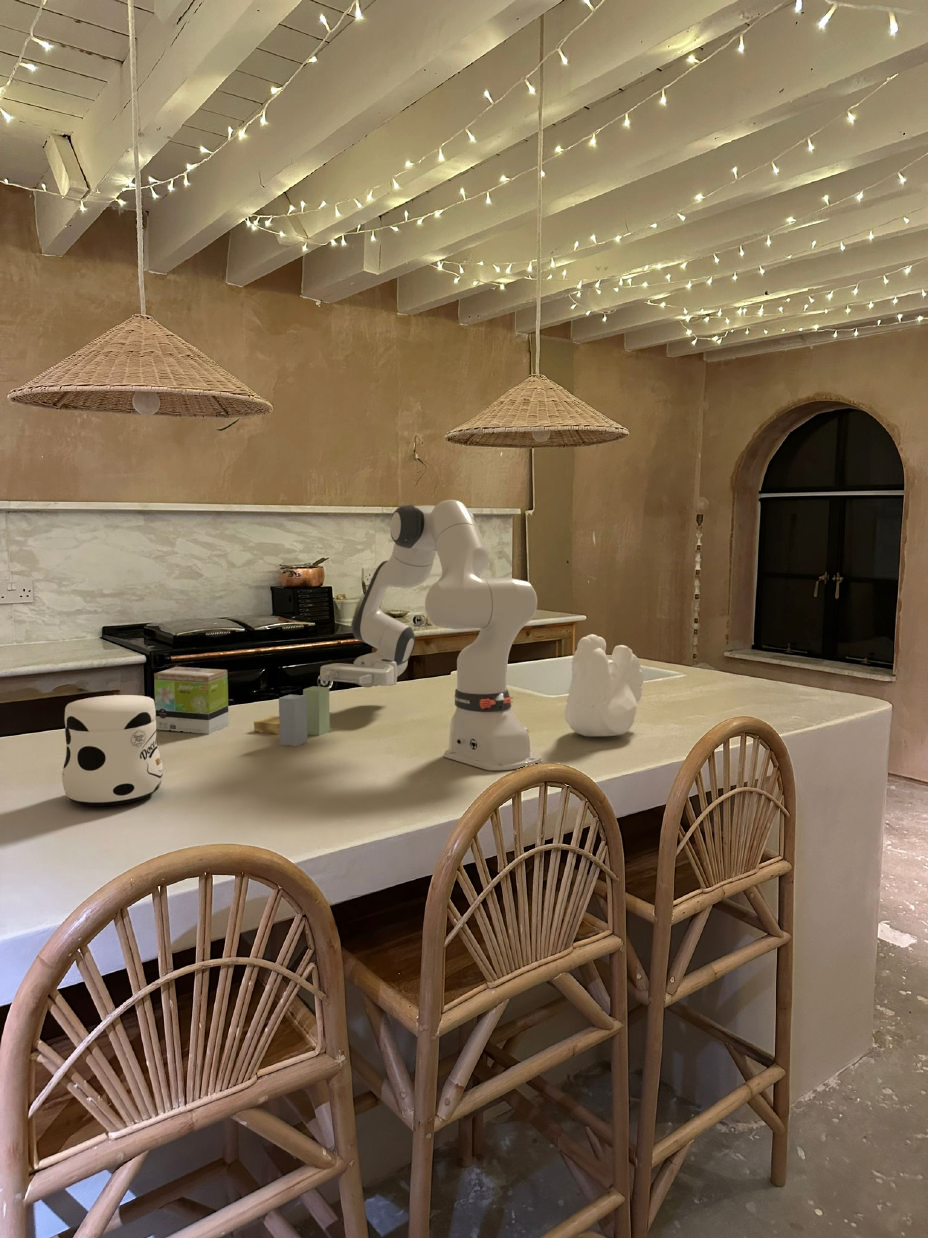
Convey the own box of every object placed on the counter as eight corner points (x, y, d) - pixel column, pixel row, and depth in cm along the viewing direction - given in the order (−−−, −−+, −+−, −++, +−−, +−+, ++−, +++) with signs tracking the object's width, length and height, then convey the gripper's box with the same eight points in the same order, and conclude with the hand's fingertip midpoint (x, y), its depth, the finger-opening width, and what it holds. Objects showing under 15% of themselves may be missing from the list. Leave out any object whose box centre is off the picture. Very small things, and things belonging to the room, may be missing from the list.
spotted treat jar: (181, 796, 161) (177, 702, 159) (89, 820, 148) (85, 717, 146) (135, 778, 172) (132, 690, 170) (47, 798, 159) (42, 703, 157)
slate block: (307, 742, 201) (306, 696, 200) (296, 746, 197) (295, 699, 196) (291, 740, 203) (290, 694, 201) (279, 744, 199) (278, 698, 197)
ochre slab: (294, 728, 214) (294, 718, 214) (277, 734, 208) (277, 724, 208) (271, 725, 217) (271, 715, 217) (254, 731, 211) (253, 721, 211)
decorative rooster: (590, 747, 196) (592, 640, 193) (549, 733, 210) (551, 632, 207) (671, 734, 208) (674, 633, 206) (628, 721, 222) (630, 626, 219)
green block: (329, 731, 211) (329, 687, 210) (319, 735, 207) (318, 690, 206) (314, 729, 213) (313, 686, 212) (303, 733, 209) (303, 689, 208)
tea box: (154, 731, 211) (152, 672, 210) (177, 722, 221) (175, 665, 219) (209, 735, 208) (207, 674, 206) (230, 725, 217) (228, 668, 216)
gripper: (336, 656, 236) (307, 664, 224) (401, 662, 228) (375, 670, 216) (336, 678, 237) (307, 687, 225) (401, 685, 229) (375, 695, 216)
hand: (341, 679), depth 220 cm, fingers open, 8 cm apart
